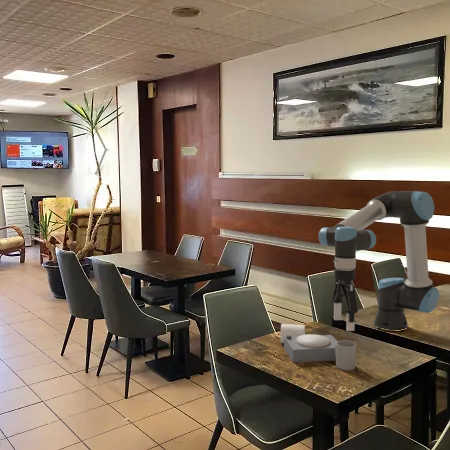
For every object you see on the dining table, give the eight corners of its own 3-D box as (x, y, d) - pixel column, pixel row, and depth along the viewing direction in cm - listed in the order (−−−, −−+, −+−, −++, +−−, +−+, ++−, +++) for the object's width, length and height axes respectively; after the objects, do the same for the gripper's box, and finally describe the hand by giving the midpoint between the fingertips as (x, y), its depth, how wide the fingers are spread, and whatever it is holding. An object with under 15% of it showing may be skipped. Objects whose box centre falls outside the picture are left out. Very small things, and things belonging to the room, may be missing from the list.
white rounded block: (304, 347, 203) (304, 328, 203) (280, 345, 205) (280, 327, 205) (305, 337, 215) (305, 320, 214) (282, 336, 217) (282, 319, 216)
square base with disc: (330, 346, 203) (331, 332, 203) (343, 359, 188) (343, 344, 188) (284, 348, 201) (284, 334, 201) (293, 362, 186) (293, 347, 186)
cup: (343, 372, 177) (344, 348, 176) (327, 362, 186) (327, 339, 185) (359, 368, 180) (360, 345, 179) (343, 359, 189) (343, 337, 188)
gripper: (324, 263, 191) (323, 316, 193) (347, 275, 166) (345, 335, 168) (342, 262, 192) (341, 315, 194) (368, 275, 167) (366, 335, 169)
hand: (343, 325), depth 181 cm, fingers open, 13 cm apart
